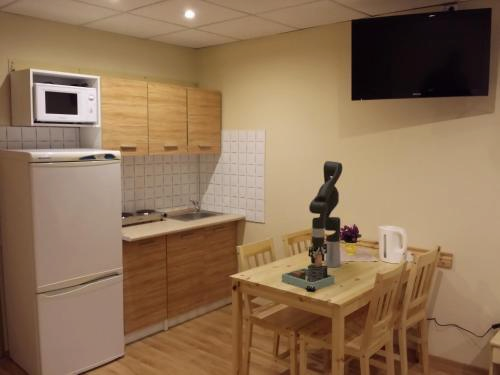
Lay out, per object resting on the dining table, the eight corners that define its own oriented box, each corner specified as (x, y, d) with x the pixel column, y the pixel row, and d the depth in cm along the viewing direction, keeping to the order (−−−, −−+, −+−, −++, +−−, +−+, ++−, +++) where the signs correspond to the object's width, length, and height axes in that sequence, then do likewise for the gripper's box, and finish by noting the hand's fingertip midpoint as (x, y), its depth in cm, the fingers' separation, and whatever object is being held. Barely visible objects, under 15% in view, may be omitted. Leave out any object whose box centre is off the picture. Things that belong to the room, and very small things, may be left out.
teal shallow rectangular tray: (304, 274, 292) (304, 267, 292) (334, 283, 275) (334, 276, 274) (281, 281, 279) (281, 274, 279) (312, 290, 261) (312, 283, 261)
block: (298, 279, 283) (298, 269, 283) (305, 281, 279) (305, 272, 278) (291, 281, 279) (291, 271, 279) (299, 283, 275) (299, 273, 274)
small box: (327, 282, 276) (328, 265, 275) (323, 285, 270) (324, 268, 269) (311, 280, 281) (311, 263, 280) (307, 283, 276) (307, 265, 275)
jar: (317, 264, 278) (317, 251, 277) (323, 265, 275) (323, 253, 274) (312, 265, 275) (311, 253, 274) (318, 267, 272) (318, 254, 271)
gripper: (315, 238, 265) (314, 265, 267) (330, 234, 275) (330, 261, 277) (305, 236, 271) (305, 263, 273) (320, 232, 280) (320, 259, 282)
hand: (317, 262), depth 275 cm, fingers open, 8 cm apart
